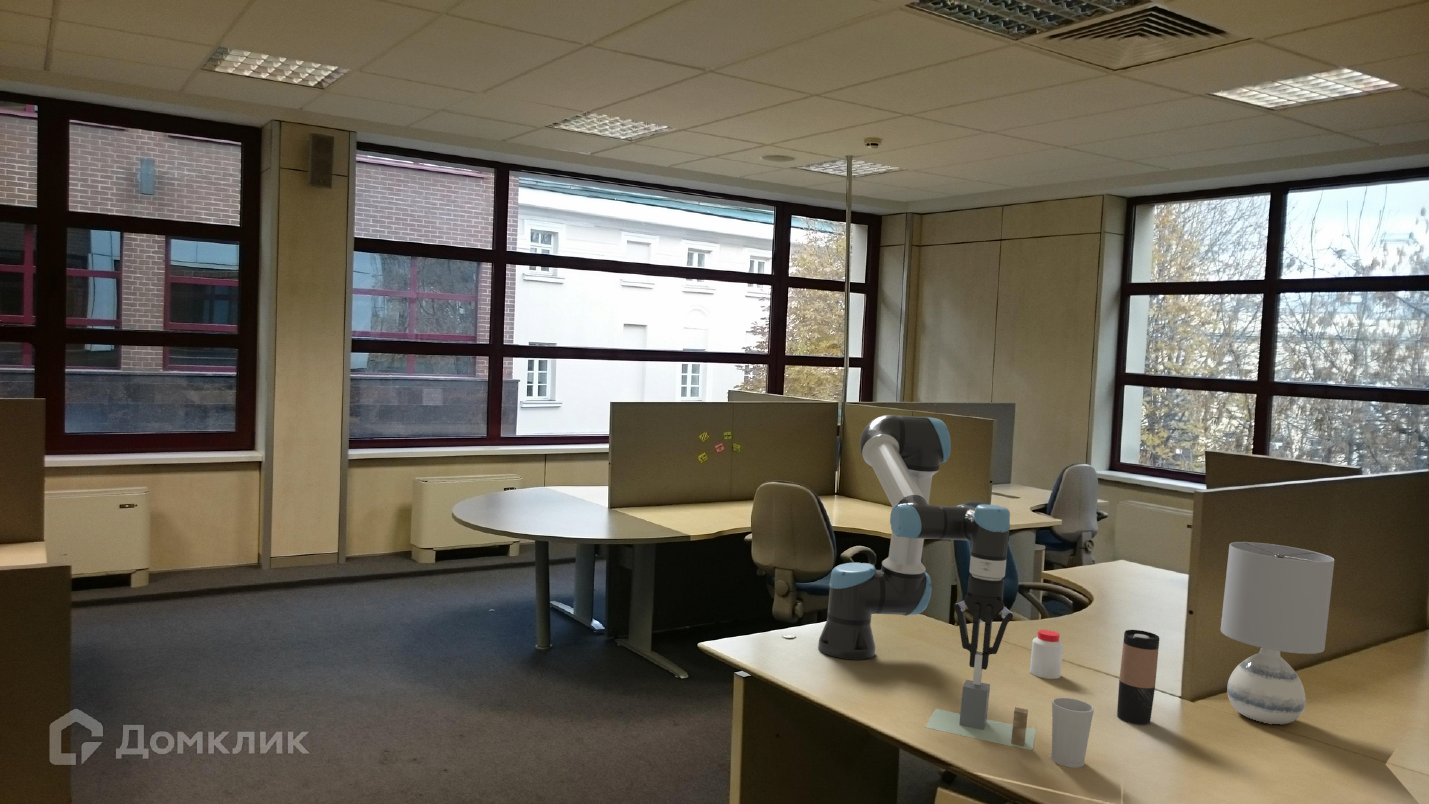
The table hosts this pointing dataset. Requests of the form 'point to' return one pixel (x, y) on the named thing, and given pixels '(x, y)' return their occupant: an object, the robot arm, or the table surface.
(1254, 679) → the lamp
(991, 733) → the board
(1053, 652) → the pill bottle
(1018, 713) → the oak post
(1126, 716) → the travel mug
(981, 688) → the tall gray brick
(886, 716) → the table surface
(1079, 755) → the cup
